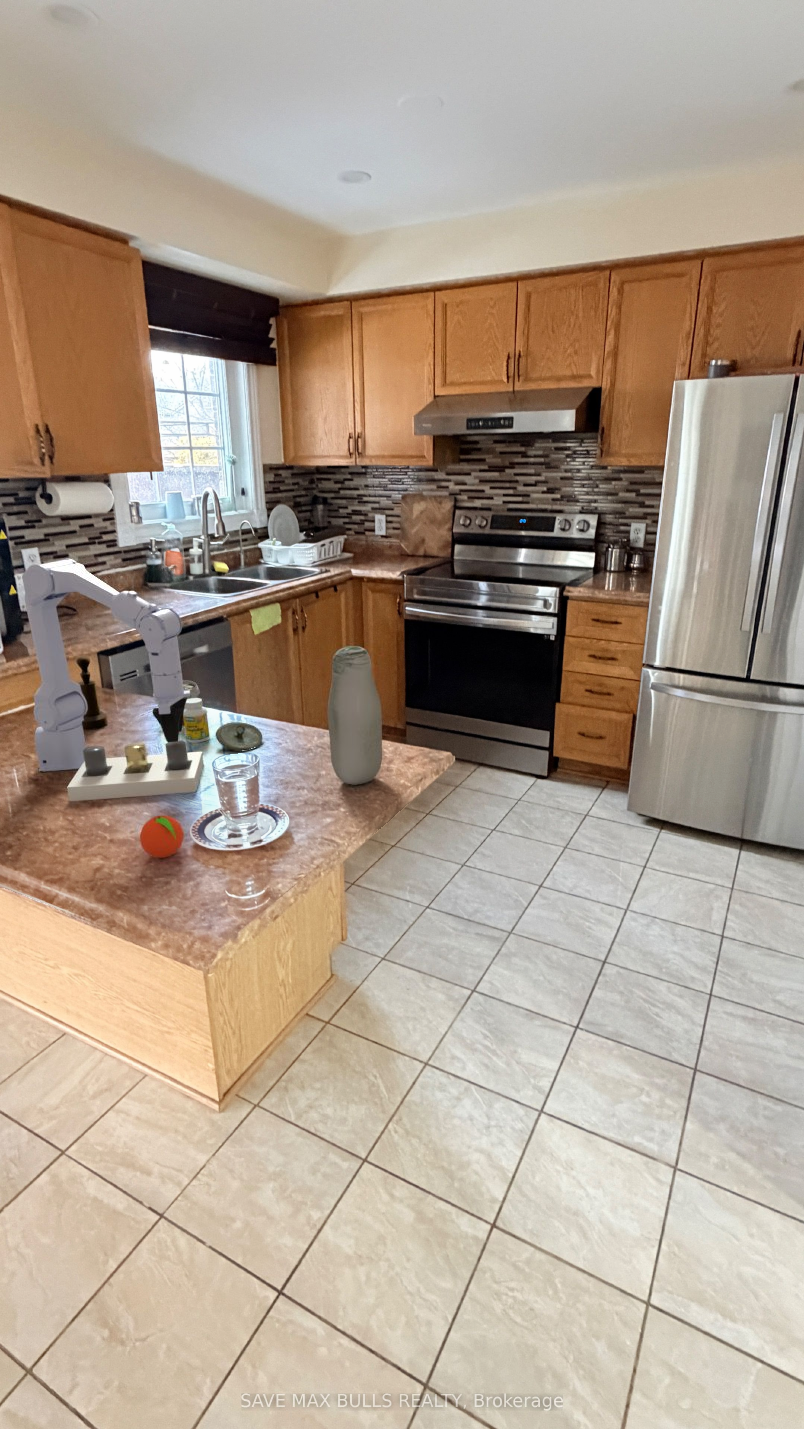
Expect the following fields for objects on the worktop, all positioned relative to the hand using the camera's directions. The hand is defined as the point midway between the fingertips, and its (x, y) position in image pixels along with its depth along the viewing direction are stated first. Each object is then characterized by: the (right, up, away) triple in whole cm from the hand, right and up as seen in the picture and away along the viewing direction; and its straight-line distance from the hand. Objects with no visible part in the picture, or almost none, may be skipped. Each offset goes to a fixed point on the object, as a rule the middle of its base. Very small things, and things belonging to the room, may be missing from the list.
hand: (174, 736), depth 152 cm
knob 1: (-16, -7, 0) cm, 17 cm away
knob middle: (-8, -7, +1) cm, 10 cm away
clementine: (+7, -19, -27) cm, 33 cm away
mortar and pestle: (-31, +2, +35) cm, 47 cm away
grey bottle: (+37, -9, 0) cm, 38 cm away
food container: (-8, +3, +37) cm, 38 cm away
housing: (-8, -9, +2) cm, 12 cm away
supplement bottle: (-2, -2, +25) cm, 25 cm away
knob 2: (0, -6, +2) cm, 7 cm away
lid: (+9, -3, +21) cm, 23 cm away
